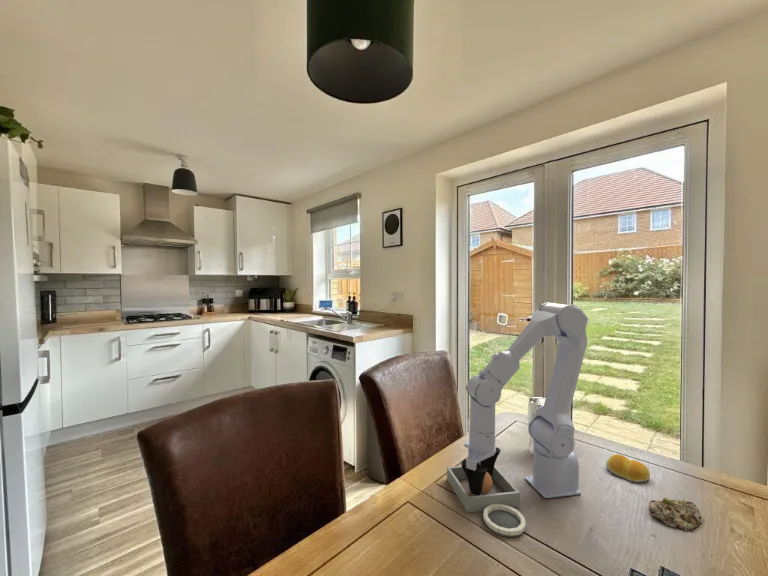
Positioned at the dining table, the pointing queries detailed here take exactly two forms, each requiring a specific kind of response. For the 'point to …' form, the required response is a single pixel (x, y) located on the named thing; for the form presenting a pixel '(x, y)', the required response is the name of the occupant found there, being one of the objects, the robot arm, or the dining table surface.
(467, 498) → the low pen
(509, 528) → the ring
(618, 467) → the bread roll
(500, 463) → the dining table surface
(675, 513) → the mineral rock
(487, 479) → the orange ball
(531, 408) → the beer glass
